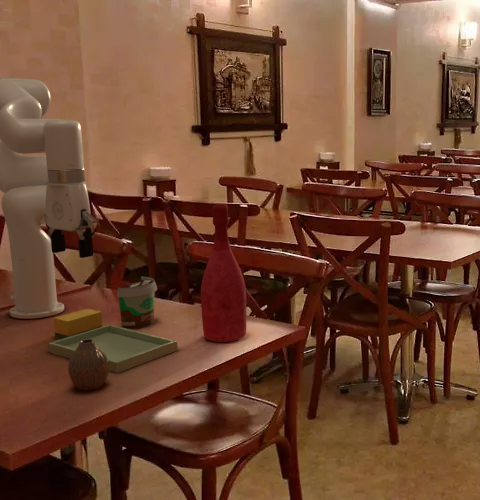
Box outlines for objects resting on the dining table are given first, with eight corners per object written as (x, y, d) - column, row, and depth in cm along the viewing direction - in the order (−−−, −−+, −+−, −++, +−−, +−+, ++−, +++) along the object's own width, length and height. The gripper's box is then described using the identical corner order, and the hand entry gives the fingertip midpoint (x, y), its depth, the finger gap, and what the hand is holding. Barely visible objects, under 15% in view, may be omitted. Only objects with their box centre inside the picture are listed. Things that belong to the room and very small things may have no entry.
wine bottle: (193, 337, 157) (187, 203, 152) (229, 327, 164) (224, 199, 159) (220, 346, 151) (215, 208, 145) (256, 336, 158) (252, 203, 152)
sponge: (54, 336, 158) (53, 317, 157) (88, 326, 165) (87, 308, 164) (69, 340, 155) (67, 321, 154) (102, 330, 162) (101, 311, 162)
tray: (49, 352, 147) (48, 343, 147) (110, 333, 160) (109, 324, 160) (117, 373, 136) (117, 362, 135) (177, 350, 149) (177, 340, 148)
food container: (143, 332, 161) (141, 289, 159) (119, 330, 162) (116, 288, 160) (167, 316, 173) (165, 277, 171) (144, 315, 174) (142, 276, 172)
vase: (76, 379, 132) (72, 335, 131) (114, 378, 133) (110, 334, 131) (65, 394, 126) (61, 347, 124) (104, 393, 126) (101, 346, 125)
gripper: (26, 176, 155) (33, 253, 158) (76, 181, 146) (82, 261, 149) (57, 174, 161) (63, 247, 164) (106, 178, 152) (111, 255, 155)
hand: (72, 254), depth 157 cm, fingers open, 9 cm apart
